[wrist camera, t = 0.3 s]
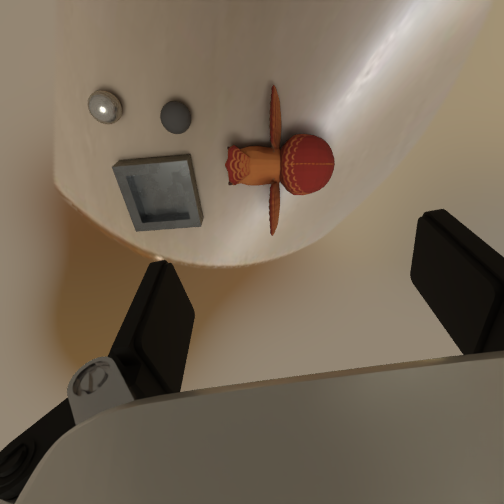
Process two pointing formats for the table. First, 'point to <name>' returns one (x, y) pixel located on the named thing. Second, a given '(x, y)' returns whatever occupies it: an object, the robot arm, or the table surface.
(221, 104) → the table surface
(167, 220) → the square metal tray
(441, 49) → the table surface
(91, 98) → the steel ball
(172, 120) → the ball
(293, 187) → the figurine
